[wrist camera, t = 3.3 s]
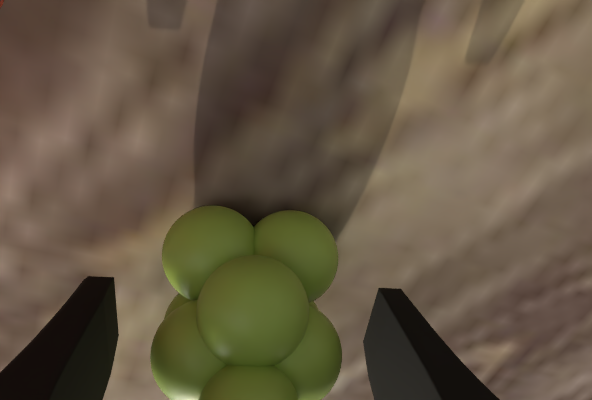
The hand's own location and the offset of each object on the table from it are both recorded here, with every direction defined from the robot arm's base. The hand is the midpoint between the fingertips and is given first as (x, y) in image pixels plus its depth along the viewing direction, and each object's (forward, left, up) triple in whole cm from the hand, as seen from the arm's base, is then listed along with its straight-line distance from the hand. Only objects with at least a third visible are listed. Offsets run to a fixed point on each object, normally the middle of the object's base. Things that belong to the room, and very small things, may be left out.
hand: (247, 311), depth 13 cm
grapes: (0, 0, -2) cm, 2 cm away
